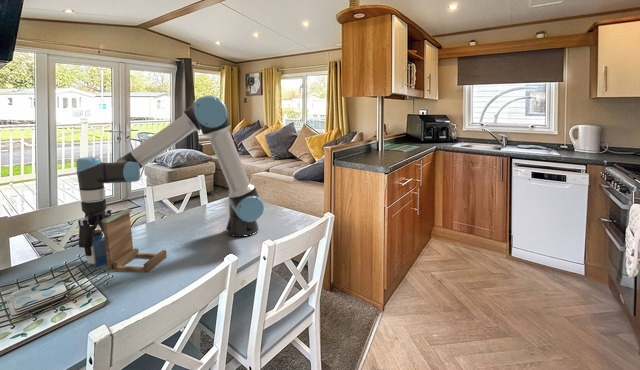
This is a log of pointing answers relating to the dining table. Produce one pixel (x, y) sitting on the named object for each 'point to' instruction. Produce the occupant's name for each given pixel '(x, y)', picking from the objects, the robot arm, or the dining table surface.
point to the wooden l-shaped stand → (125, 244)
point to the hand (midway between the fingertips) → (100, 257)
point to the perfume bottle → (99, 248)
